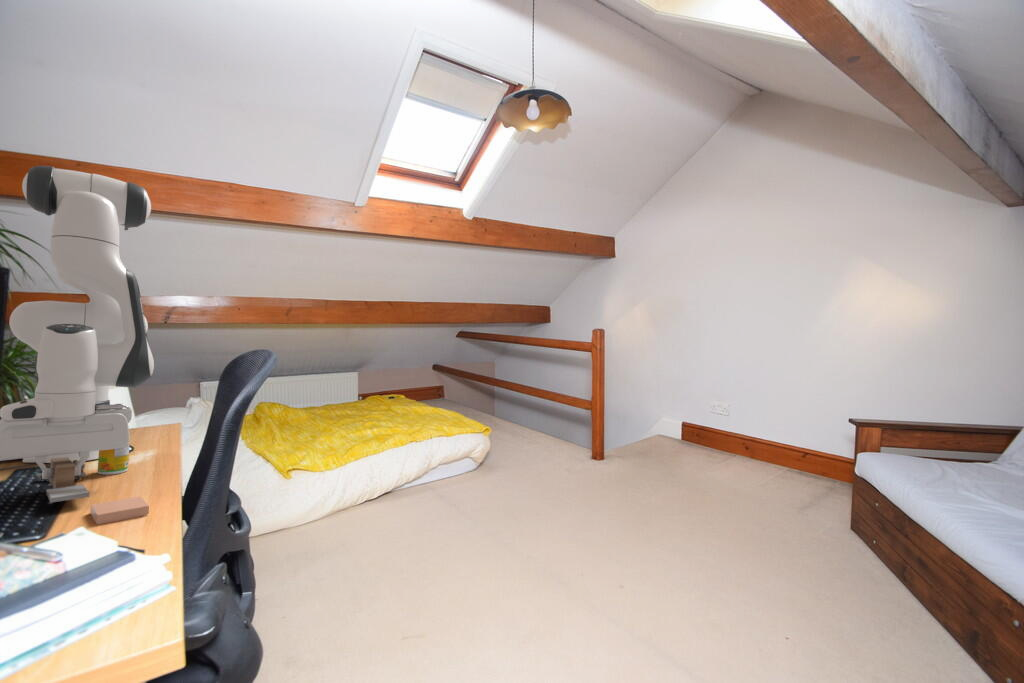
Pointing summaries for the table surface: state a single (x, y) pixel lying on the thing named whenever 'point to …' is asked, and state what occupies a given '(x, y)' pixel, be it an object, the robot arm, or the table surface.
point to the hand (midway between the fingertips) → (61, 476)
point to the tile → (119, 510)
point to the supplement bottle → (113, 461)
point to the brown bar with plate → (64, 481)
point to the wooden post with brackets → (74, 476)
